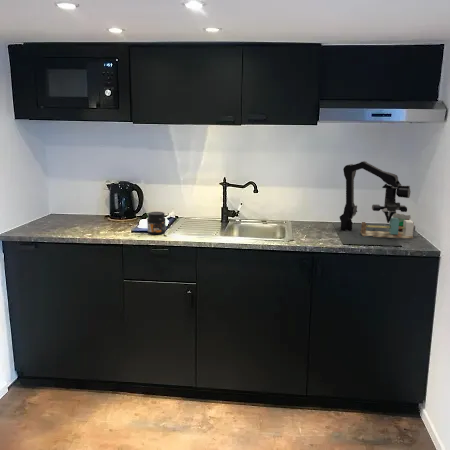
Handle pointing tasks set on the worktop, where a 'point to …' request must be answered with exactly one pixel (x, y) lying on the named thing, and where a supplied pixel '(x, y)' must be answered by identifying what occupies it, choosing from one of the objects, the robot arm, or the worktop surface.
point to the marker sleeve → (394, 226)
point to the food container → (401, 219)
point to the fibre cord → (383, 226)
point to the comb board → (381, 233)
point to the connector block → (408, 227)
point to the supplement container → (156, 223)
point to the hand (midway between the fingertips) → (388, 222)
